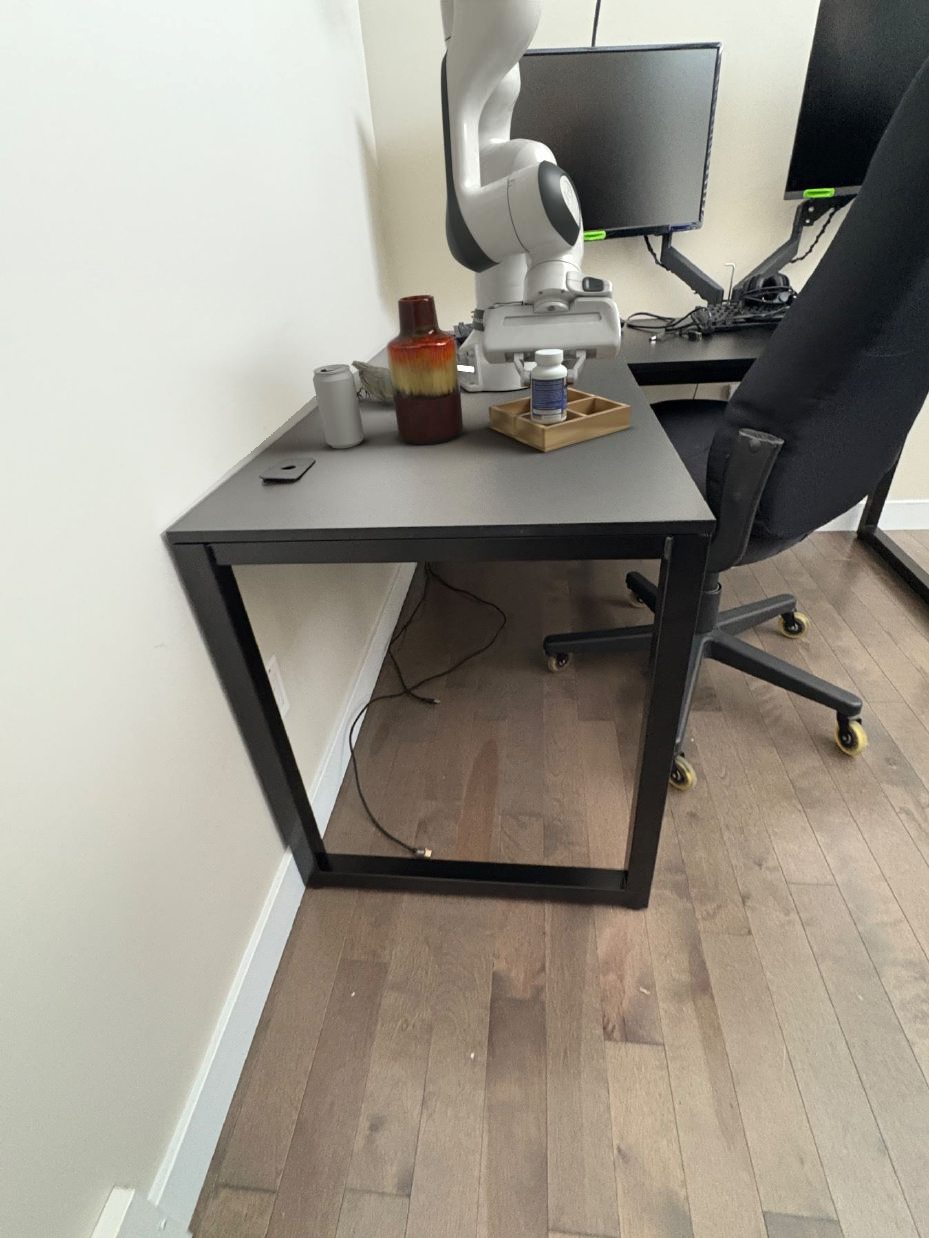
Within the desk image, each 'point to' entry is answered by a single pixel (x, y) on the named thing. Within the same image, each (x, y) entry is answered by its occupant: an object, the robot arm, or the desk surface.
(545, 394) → the pill bottle
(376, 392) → the decorative bird
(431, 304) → the vase
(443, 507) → the desk surface
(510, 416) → the wooden compartment tray
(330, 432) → the beverage can
